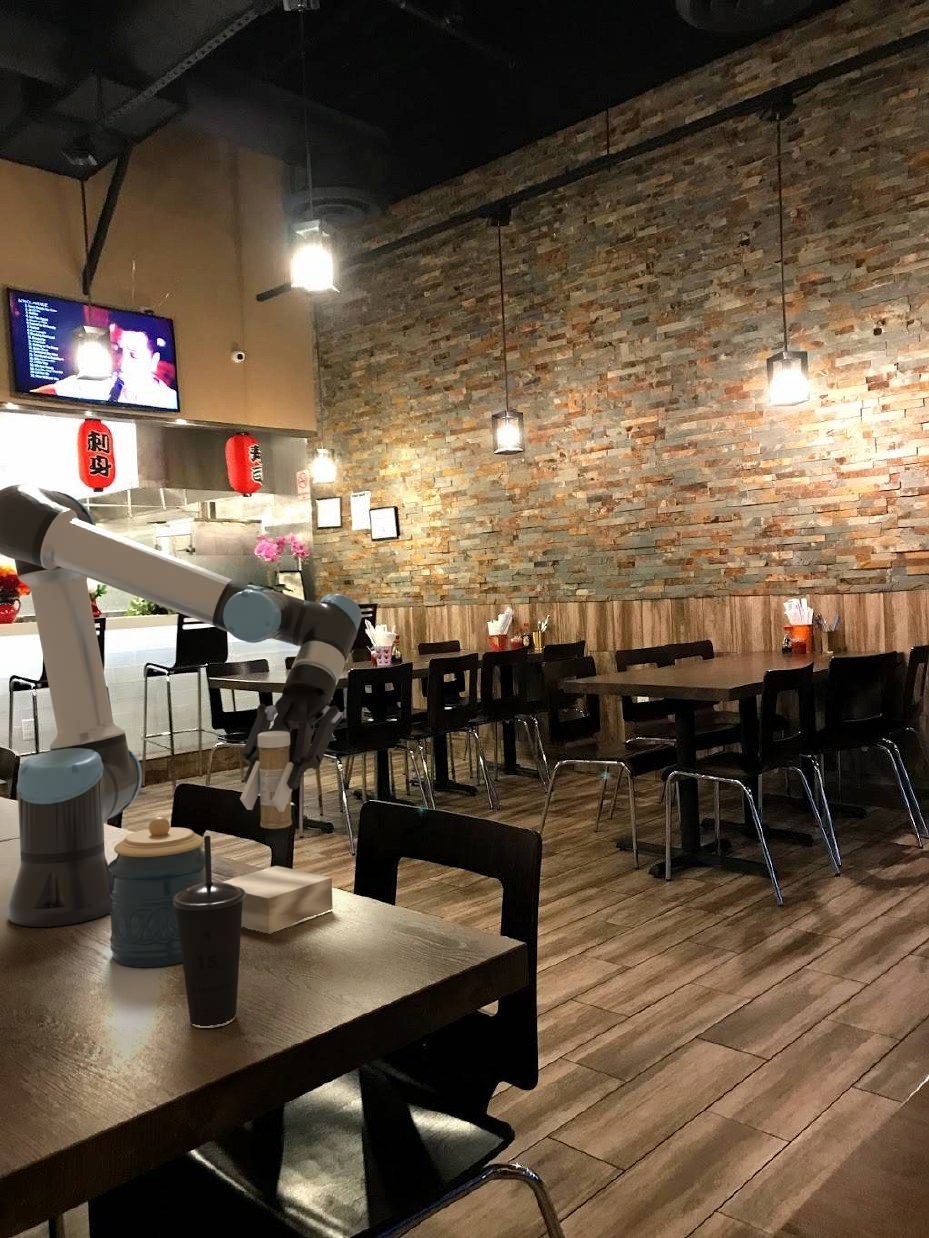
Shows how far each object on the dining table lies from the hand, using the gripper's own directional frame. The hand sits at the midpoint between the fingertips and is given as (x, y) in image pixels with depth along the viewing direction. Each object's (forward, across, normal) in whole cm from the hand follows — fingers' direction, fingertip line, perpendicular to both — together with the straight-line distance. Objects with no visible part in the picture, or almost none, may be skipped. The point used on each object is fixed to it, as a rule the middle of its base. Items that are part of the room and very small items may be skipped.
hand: (262, 805), depth 138 cm
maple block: (+9, +1, -15) cm, 18 cm away
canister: (+21, +8, -4) cm, 23 cm away
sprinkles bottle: (0, 0, -6) cm, 6 cm away
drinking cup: (+33, -10, +9) cm, 36 cm away
